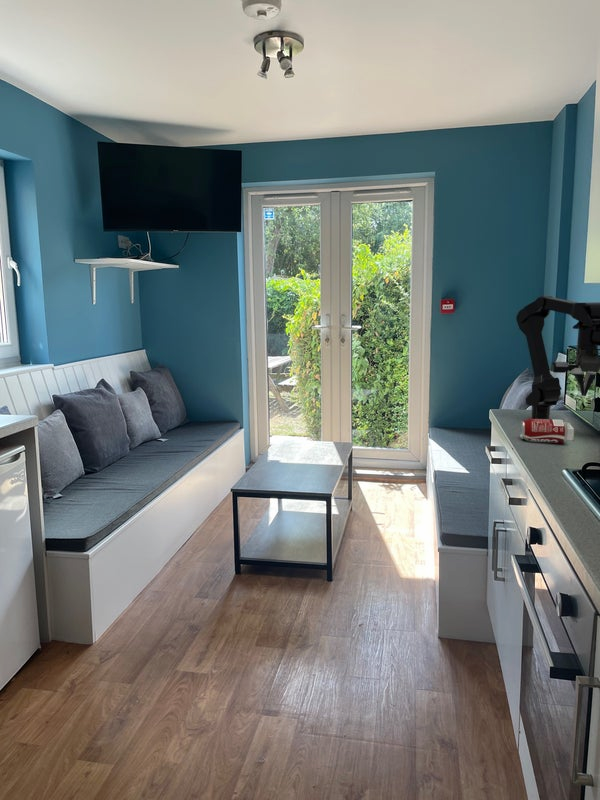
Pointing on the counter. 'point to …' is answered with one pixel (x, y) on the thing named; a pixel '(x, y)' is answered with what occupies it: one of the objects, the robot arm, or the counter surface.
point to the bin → (570, 431)
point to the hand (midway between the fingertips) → (583, 395)
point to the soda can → (544, 430)
